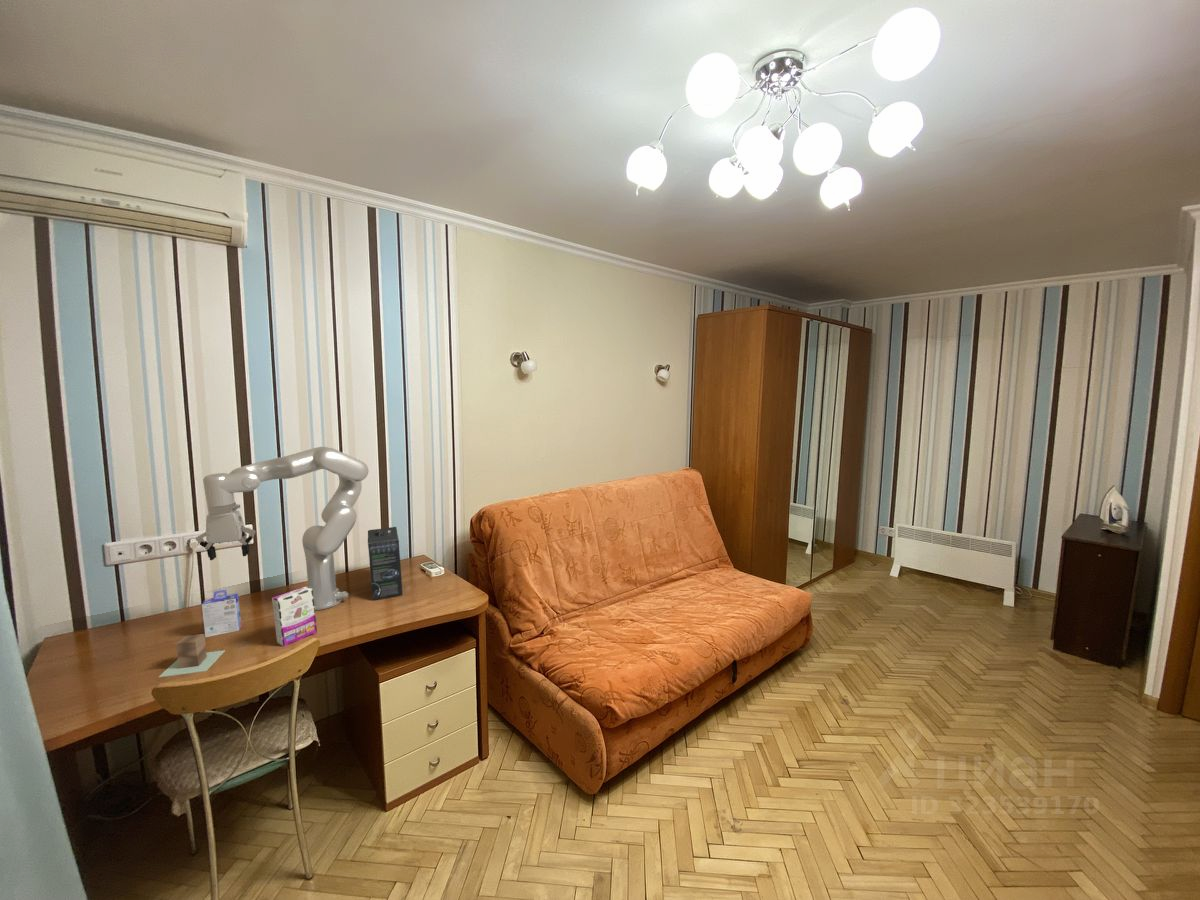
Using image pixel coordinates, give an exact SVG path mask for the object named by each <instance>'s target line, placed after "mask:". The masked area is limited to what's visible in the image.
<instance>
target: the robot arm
mask: <svg viewBox="0 0 1200 900" xmlns="http://www.w3.org/2000/svg"><path fill="white" fill-rule="evenodd" d="M320 470H326V471H328V472H330V473H332V474H334V475H337V476H338V485H337V488H336V490H335V492H334V494H333V495H332V497H331V498H330V500H329V501H328V502H327V504H326V505H325V507H324V508H323V509H322V512H321V514H320V516H321V519H322V521H323V522H324V523H325V524H324V526H323V525H313V526H310V527H309V528H307V529H306V530H305V531H304V533H303V534H302V540H301V541H302V547H303V548H302V549H303V551H304V552H303V553H304V557H305V564H306V566H305V567H306V574H307V576H306V579H307V587H309V588H312V589H313V599H314V608H315V611H319V610H326V609H330V608H332V607H335V606H337V605H339V604H340V603H341V602H342V599H346V598H347V599H348V598H349V592H347V591H340V590H339V587H337V583H336V580H337V579H336V569H335V558H334V557H335V555H334V553H335V552H337V551H338V550H339V549H340V548H341V546H342V544H343V543H344V542H345V540H346V539H347V538H348V535H350V532H351V531H352V529H353V528H354V526H355V523H356V521H357V511H356V509H354V505H355V504H356V502H357V500H358V499H359V497H360V495H361V492H362V487H363V486H362V481H364V480H366V478H367V477H368V475H369V466H368V465H367V463H366V462H364V461H362V460H360V459H357V458H356V457H353V456H351V455H348V454H346V453H344V452H342V451H340V450H338V449H336V448H333V447H329V446H328V447H327V446H318V447H313V448H310V449H306V450H303V451H300V452H296V453H292V454H289V455H286V456H280V457H275V458H272V459H267V460H263V461H259V462H254V463H251V464H247V465H243V466H239V467H237V468H235V469H233V470H232V471H230V472H229V473H225V472H220V473H219V472H218V473H211V474H208V475H205V476H204V477H203V479H202V480H203V481H202V482H203V483H202V484H203V488H204V496H205V501H206V507H207V513H208V514H207V515H206V519H205V532H203V533H202V534H199V535H198V536H196V537H195V540H196V542H198V543H199V546H201V547H203V548H204V549H205V550H206V552H207V557H208V559H209V561H213V560H215V559H216V558H217V553H216V547H215V544H221V543H230V542H239V543H240V544H242V545H241V553H242V557H246V556H248V555H249V553H250V551H251V550H250V545H249V543H250V542H251V541H252V540H253V539H254V536H255V535H256V530H255V529H252V528H248V527H246V526H245V522H244V520H243V517H242V514H241V511H240V510H238V509H241V505H240V504H237V503H236V501H235V494H234V493H249V492H252V491H255V490H256V489H258V488H259V487H260V485H261V483H263V482H267V481H272V480H286V479H287V480H289V479H293V478H298V477H300V476H303V475H306V474H311V473H313V472H317V471H320ZM246 534H249V535H248V537H246ZM205 537H206V540H207V541H206V540H205V539H204V538H205Z"/></svg>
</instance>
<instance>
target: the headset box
mask: <svg viewBox="0 0 1200 900" xmlns="http://www.w3.org/2000/svg"><path fill="white" fill-rule="evenodd" d="M367 549H368V556H369V557H368V559H369V560H368V561H369V569H370V570H369V571H370V584H371V585H370V587H371V600H372V601H375V600H376V601H377V600H382V599H387V598H388V599H390V598H394V597H399V596H403V582H402V579H403V577H402V566H401V565H402V564H401V555H400V554H401V553H400V551H401V550H400V540H399V535H398V529H397V526H391V527H385V528H384V527H383V528H377V529H369V530H367Z"/></svg>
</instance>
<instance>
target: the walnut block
mask: <svg viewBox="0 0 1200 900" xmlns="http://www.w3.org/2000/svg"><path fill="white" fill-rule="evenodd" d="M175 645H176V646H175V647H176V653H177V659H178V662H179V669H180V668H188V667H195V666H199V665H200V664H201V663H202V662H203V661H204V660H205V659H206V658H207V646H206V637H205V633H198V634H192V635H184V636H183V637H182V638H181V639H180V640H179V641H177V643H176V644H175Z"/></svg>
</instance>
